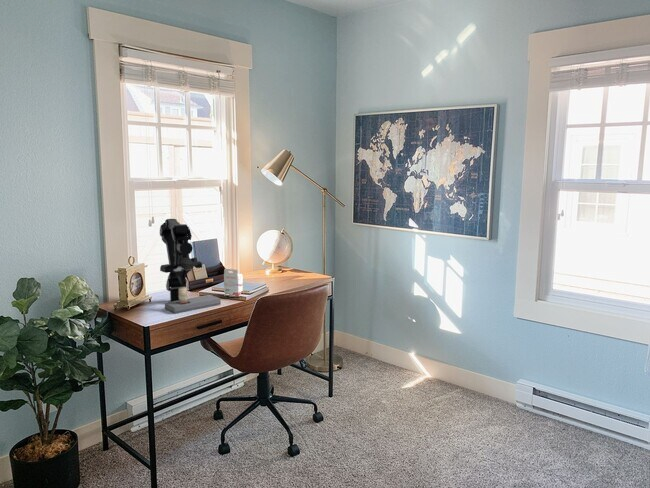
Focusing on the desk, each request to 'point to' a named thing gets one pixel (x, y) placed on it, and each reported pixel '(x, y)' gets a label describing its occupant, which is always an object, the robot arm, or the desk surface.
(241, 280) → the ink cartridge box
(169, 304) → the board
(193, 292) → the desk surface
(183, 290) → the beech peg
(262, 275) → the desk surface
